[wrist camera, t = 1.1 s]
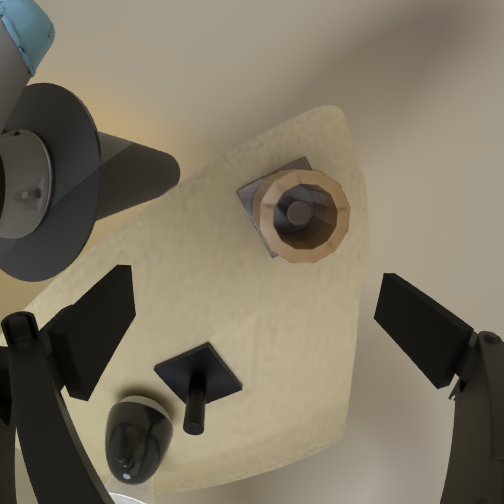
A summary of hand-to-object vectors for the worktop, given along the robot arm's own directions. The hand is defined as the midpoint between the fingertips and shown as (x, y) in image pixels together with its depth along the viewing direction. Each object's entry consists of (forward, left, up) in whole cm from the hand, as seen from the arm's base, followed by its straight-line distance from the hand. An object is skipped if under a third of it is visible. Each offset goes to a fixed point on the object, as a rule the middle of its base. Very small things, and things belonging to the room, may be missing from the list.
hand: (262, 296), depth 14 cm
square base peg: (+15, -16, -19) cm, 29 cm away
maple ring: (0, +5, -18) cm, 18 cm away
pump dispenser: (+17, -28, -19) cm, 38 cm away
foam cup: (+28, -40, -19) cm, 52 cm away
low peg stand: (0, +5, -19) cm, 19 cm away
